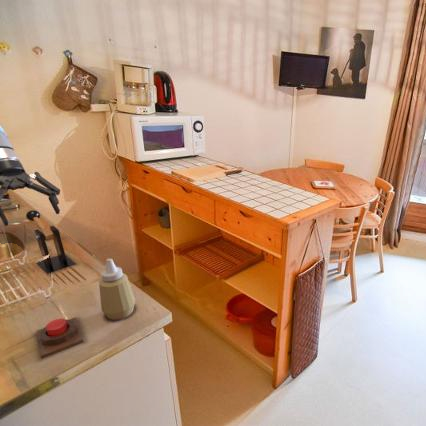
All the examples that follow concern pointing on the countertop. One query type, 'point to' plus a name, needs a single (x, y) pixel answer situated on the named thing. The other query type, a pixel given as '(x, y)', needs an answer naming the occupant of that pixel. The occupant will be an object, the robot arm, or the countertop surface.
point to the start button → (56, 327)
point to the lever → (40, 224)
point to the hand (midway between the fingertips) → (33, 217)
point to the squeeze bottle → (115, 292)
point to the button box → (59, 339)
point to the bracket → (54, 262)
